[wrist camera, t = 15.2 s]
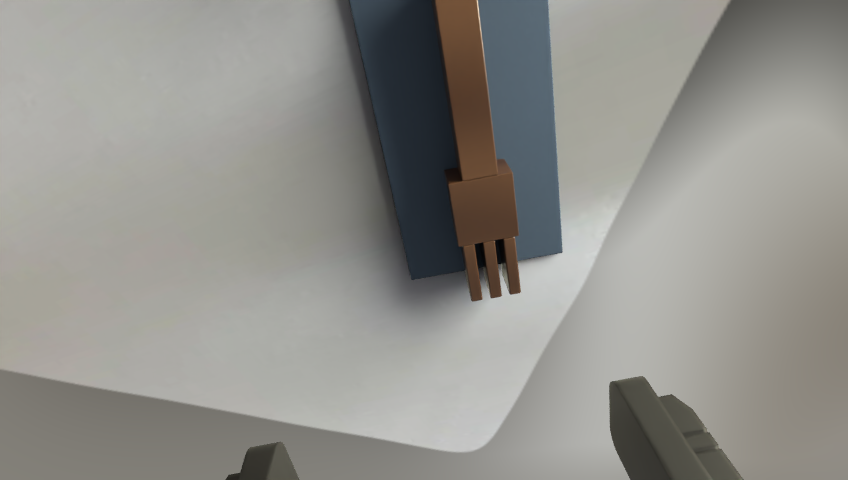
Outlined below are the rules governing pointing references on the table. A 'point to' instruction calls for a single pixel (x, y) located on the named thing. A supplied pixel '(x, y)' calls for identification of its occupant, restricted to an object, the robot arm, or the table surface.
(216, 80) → the table surface
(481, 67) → the fork
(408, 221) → the mat
